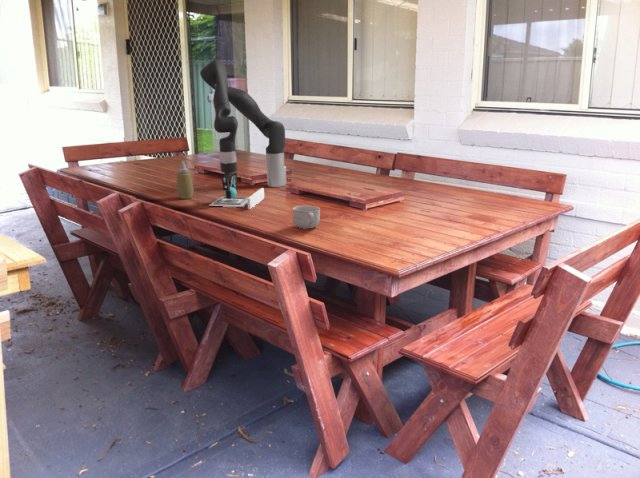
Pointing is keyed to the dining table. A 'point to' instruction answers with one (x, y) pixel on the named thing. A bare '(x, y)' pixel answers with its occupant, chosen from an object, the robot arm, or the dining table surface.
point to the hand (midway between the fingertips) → (230, 197)
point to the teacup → (306, 216)
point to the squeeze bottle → (184, 183)
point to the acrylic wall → (255, 198)
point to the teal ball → (232, 192)
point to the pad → (230, 202)
